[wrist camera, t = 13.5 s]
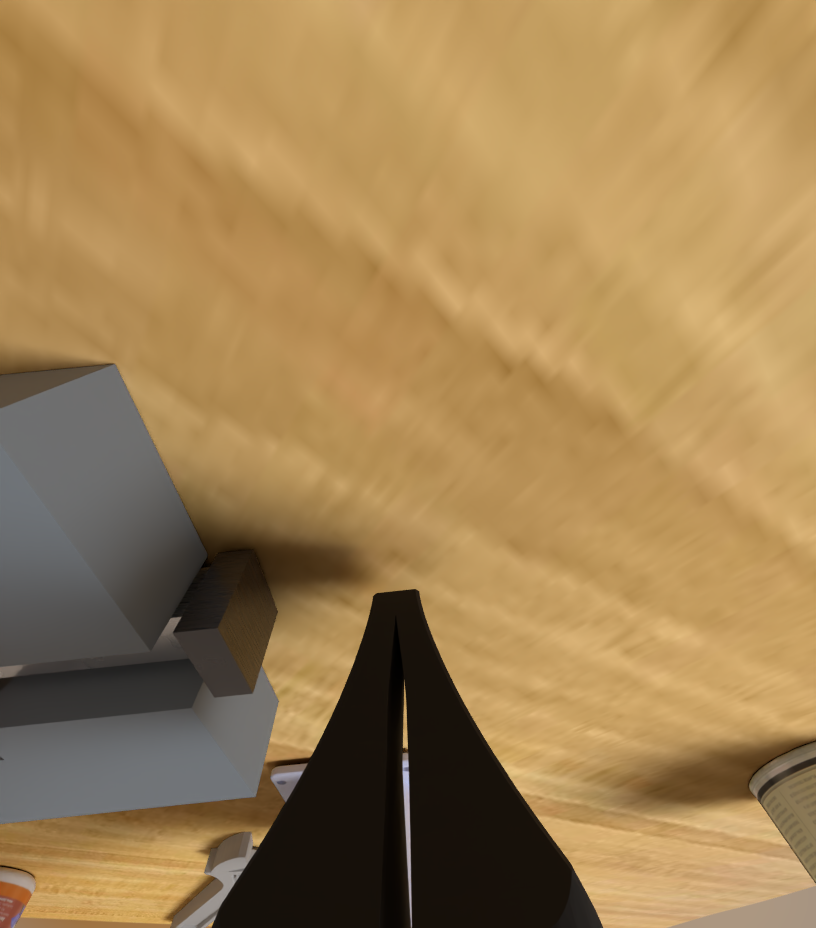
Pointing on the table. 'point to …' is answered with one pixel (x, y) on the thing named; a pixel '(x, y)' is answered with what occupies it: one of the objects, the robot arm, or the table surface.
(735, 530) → the table surface
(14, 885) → the pill bottle
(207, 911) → the adjustable wrench
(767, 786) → the coffee can
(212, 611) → the lock pin
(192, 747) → the mount board
